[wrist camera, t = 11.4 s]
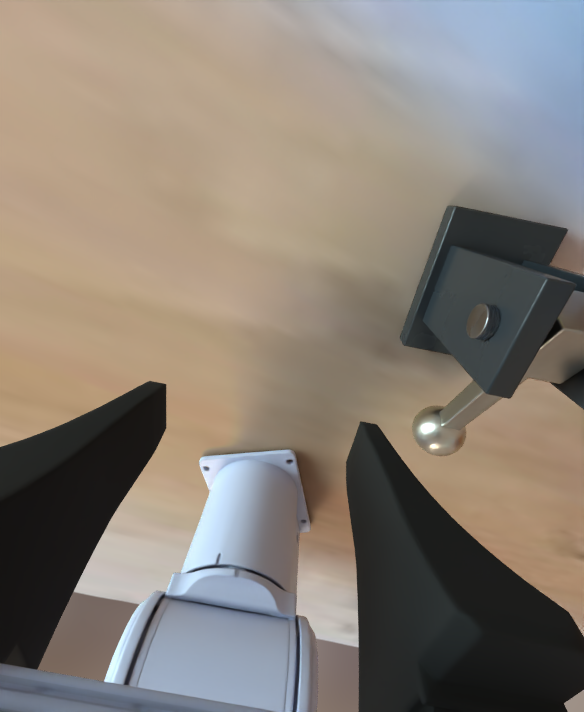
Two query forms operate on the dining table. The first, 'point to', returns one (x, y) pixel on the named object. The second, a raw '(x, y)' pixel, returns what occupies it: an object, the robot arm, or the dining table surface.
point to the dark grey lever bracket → (492, 298)
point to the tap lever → (552, 364)
